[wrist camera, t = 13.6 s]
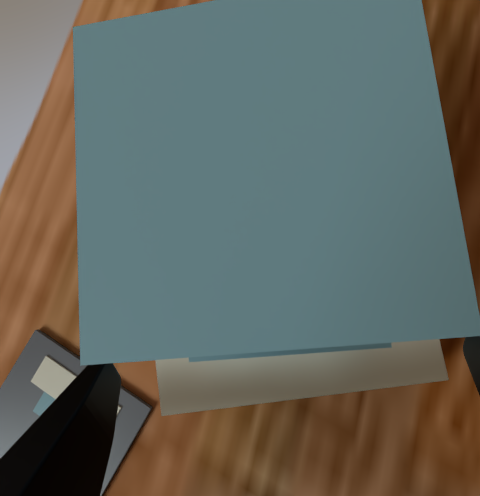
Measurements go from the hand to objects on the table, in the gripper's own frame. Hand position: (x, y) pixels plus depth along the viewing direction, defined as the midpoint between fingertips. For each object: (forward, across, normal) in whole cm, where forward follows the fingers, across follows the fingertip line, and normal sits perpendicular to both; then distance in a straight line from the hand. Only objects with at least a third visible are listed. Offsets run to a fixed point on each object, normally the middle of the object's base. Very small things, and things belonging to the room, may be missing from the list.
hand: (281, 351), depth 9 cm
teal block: (+8, 0, +3) cm, 9 cm away
